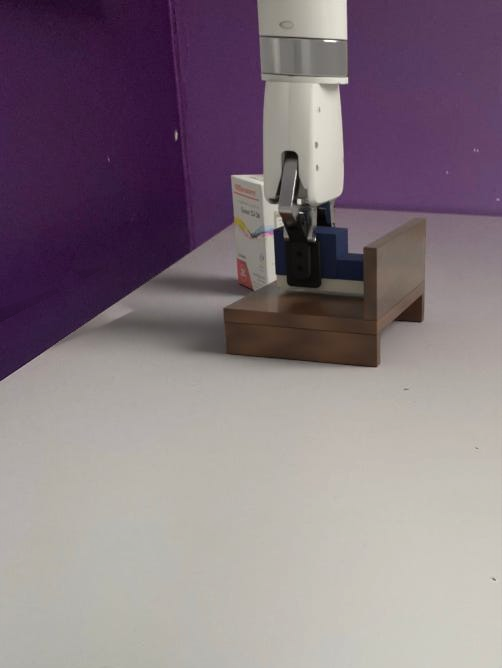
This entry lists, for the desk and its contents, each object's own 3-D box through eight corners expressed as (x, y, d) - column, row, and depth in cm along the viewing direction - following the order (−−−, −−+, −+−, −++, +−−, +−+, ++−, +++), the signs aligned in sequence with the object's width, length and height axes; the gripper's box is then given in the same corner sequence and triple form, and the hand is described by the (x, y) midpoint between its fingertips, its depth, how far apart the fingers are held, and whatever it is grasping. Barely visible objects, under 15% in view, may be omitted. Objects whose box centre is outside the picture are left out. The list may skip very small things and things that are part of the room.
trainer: (275, 287, 98) (273, 229, 95) (289, 280, 101) (287, 223, 99) (368, 295, 97) (367, 236, 94) (379, 287, 100) (378, 230, 98)
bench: (226, 353, 93) (217, 235, 89) (296, 309, 111) (292, 208, 106) (377, 367, 92) (376, 248, 87) (424, 319, 109) (426, 218, 104)
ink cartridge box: (235, 283, 121) (226, 144, 114) (274, 280, 123) (268, 144, 116) (266, 297, 115) (258, 151, 108) (306, 294, 117) (301, 151, 110)
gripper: (293, 61, 98) (301, 264, 107) (227, 61, 83) (243, 295, 92) (370, 65, 97) (372, 270, 106) (317, 65, 82) (324, 302, 91)
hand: (311, 279), depth 99 cm, fingers closed on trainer, 4 cm apart
